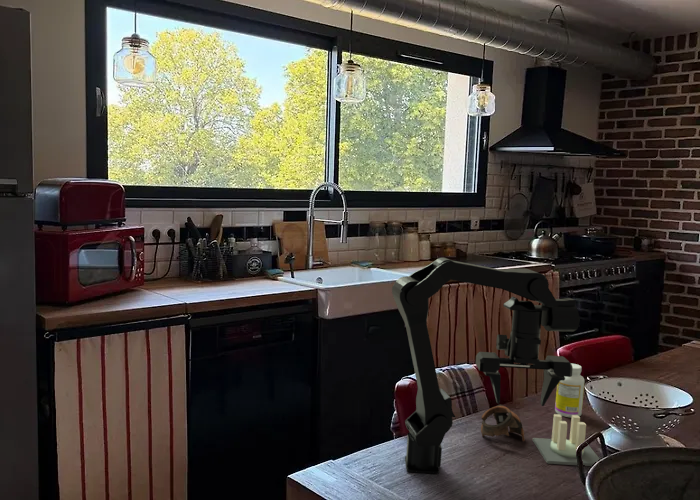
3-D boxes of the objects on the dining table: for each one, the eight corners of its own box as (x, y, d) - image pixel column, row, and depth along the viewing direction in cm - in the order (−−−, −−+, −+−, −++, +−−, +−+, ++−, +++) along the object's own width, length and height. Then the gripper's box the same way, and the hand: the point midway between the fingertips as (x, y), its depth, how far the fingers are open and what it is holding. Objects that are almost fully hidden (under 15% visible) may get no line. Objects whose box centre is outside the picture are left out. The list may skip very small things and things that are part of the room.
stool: (555, 456, 137) (558, 424, 136) (546, 443, 144) (549, 412, 143) (588, 458, 137) (591, 426, 136) (577, 445, 144) (580, 414, 143)
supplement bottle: (564, 407, 170) (568, 360, 169) (586, 415, 165) (591, 367, 163) (549, 411, 166) (553, 364, 165) (571, 420, 161) (576, 371, 159)
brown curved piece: (531, 448, 144) (519, 420, 141) (492, 462, 145) (479, 434, 143) (520, 416, 155) (508, 390, 152) (483, 429, 156) (471, 403, 154)
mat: (547, 463, 135) (547, 460, 135) (532, 440, 147) (532, 437, 147) (604, 466, 135) (604, 464, 135) (584, 443, 147) (585, 440, 147)
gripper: (559, 324, 139) (553, 393, 141) (473, 319, 139) (468, 388, 141) (576, 337, 128) (569, 412, 129) (483, 331, 128) (477, 406, 130)
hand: (519, 404), depth 133 cm, fingers open, 9 cm apart
